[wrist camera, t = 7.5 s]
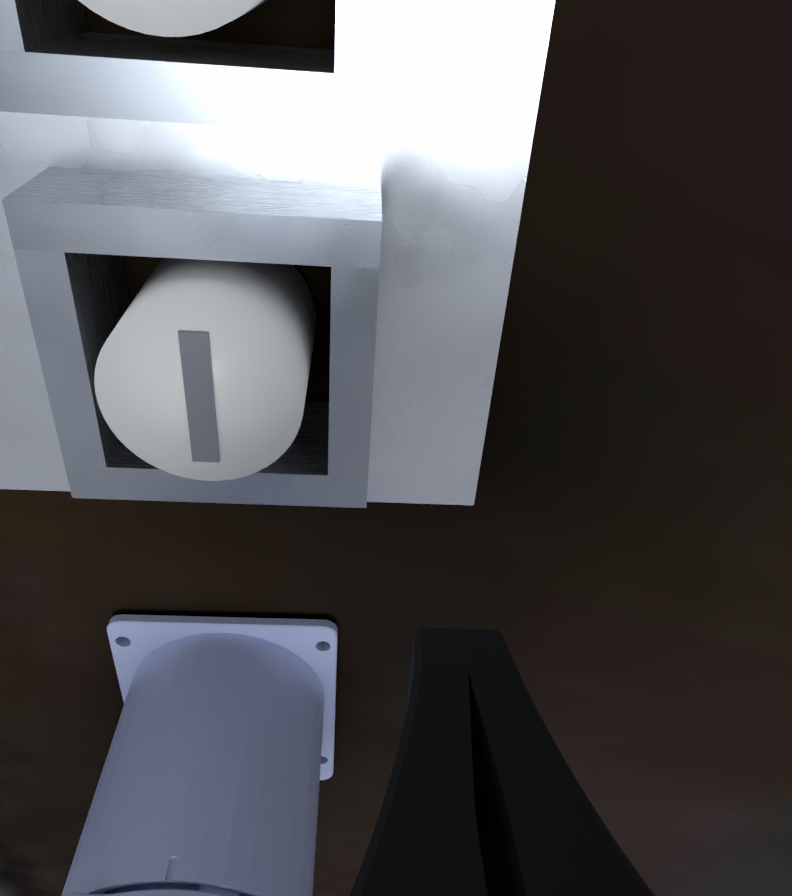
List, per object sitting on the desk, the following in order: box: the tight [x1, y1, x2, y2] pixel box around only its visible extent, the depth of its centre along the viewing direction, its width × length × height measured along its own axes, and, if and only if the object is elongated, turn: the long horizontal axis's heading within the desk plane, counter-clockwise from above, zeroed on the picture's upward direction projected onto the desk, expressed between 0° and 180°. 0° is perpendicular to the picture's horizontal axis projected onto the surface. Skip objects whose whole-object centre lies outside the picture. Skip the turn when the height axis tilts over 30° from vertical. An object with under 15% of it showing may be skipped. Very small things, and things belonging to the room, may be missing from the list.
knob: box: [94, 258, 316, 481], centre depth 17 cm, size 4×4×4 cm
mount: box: [0, 0, 555, 508], centre depth 15 cm, size 20×14×4 cm
